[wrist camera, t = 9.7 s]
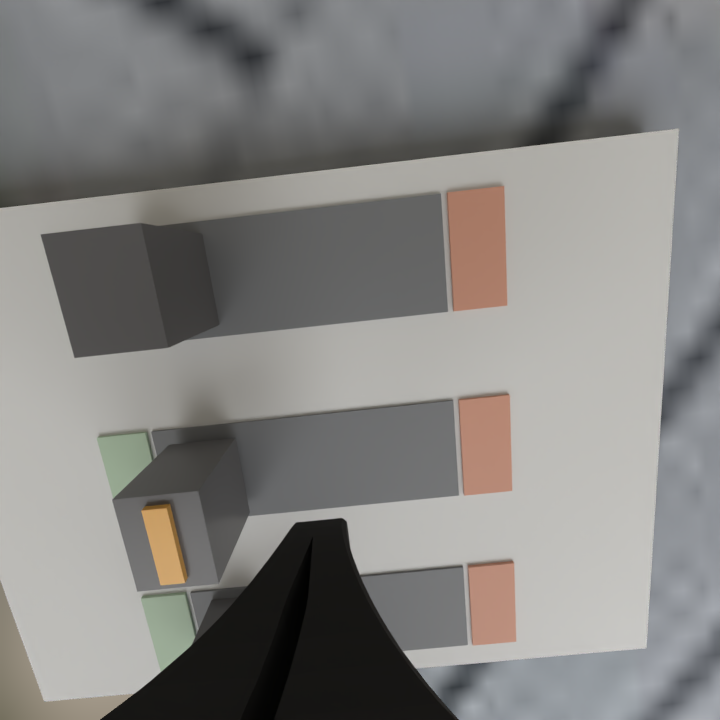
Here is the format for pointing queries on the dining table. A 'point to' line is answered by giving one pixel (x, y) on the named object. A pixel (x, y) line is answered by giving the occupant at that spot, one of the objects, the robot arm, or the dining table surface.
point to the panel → (347, 397)
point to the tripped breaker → (183, 515)
